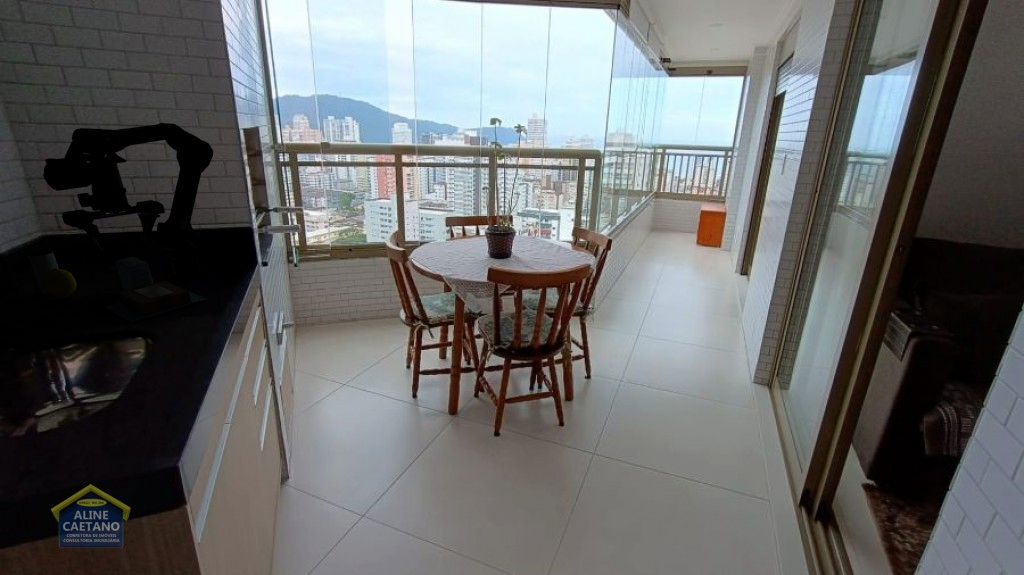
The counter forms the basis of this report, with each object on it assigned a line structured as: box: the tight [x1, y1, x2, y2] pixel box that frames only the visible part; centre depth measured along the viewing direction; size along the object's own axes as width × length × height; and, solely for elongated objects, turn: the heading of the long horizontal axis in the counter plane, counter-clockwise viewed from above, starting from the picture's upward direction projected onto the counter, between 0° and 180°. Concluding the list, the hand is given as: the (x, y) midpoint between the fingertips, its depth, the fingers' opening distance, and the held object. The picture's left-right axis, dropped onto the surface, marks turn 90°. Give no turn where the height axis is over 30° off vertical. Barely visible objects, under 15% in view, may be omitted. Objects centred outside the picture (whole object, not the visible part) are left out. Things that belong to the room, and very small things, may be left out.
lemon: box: [44, 268, 77, 299], centre depth 113 cm, size 6×6×8 cm
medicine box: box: [114, 256, 154, 291], centre depth 118 cm, size 8×4×9 cm, turn 58°
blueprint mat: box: [104, 291, 207, 324], centre depth 113 cm, size 16×14×1 cm
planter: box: [27, 250, 60, 295], centre depth 116 cm, size 4×4×10 cm
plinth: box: [118, 280, 191, 316], centre depth 112 cm, size 10×12×3 cm
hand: (126, 246), depth 115 cm, fingers open, 9 cm apart
